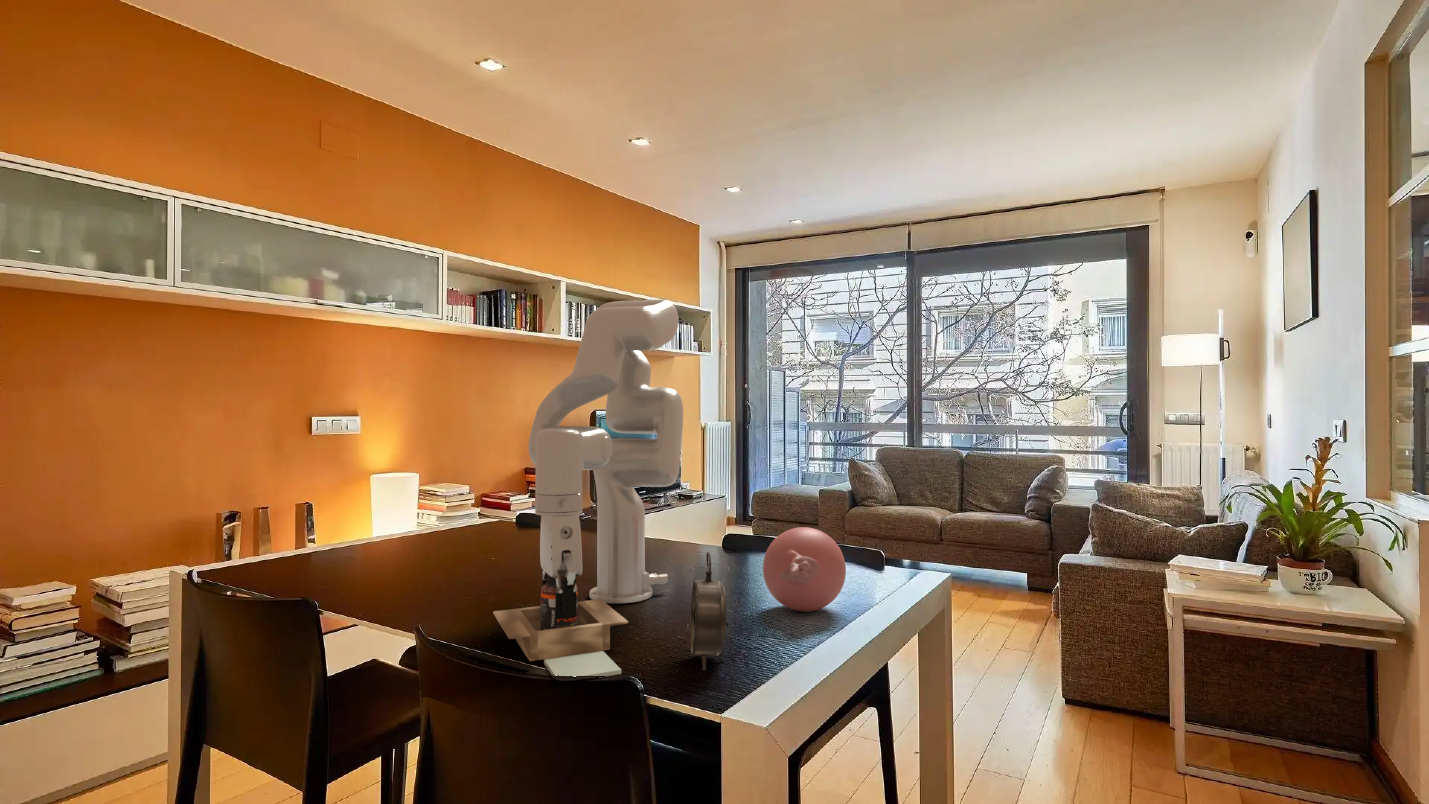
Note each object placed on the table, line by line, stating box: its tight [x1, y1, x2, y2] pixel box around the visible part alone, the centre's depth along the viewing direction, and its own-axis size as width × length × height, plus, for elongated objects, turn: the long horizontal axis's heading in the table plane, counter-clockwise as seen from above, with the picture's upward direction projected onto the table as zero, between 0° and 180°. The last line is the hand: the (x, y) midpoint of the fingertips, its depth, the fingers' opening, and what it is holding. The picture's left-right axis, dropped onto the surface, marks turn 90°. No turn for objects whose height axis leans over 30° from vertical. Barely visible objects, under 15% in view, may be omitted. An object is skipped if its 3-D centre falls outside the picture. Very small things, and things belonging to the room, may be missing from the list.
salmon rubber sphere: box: [762, 526, 847, 613], centre depth 135 cm, size 15×20×15 cm
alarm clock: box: [689, 551, 730, 672], centre depth 109 cm, size 11×5×16 cm, turn 5°
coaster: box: [543, 650, 622, 677], centre depth 106 cm, size 9×9×1 cm
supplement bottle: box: [540, 574, 579, 631], centre depth 119 cm, size 6×6×11 cm
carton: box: [492, 599, 629, 662], centre depth 119 cm, size 18×15×4 cm
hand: (558, 610), depth 119 cm, fingers open, 9 cm apart
